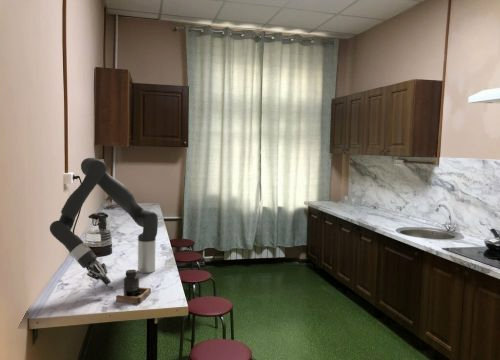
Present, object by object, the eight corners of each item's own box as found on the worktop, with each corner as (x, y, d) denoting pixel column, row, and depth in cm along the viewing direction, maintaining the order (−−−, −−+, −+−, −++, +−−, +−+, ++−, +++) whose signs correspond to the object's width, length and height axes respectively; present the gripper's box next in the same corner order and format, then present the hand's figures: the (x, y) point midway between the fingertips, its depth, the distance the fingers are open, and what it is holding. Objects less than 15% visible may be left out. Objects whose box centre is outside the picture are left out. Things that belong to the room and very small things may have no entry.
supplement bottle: (138, 293, 179) (138, 268, 178) (139, 298, 173) (140, 272, 172) (123, 294, 177) (123, 269, 176) (123, 300, 170) (123, 274, 169)
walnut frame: (128, 291, 181) (128, 286, 181) (150, 293, 179) (150, 288, 179) (116, 301, 169) (116, 295, 169) (139, 303, 167) (140, 298, 167)
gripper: (81, 253, 169) (107, 283, 168) (96, 246, 182) (121, 273, 181) (69, 264, 170) (95, 294, 169) (86, 256, 183) (110, 283, 182)
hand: (108, 283), depth 175 cm, fingers closed
